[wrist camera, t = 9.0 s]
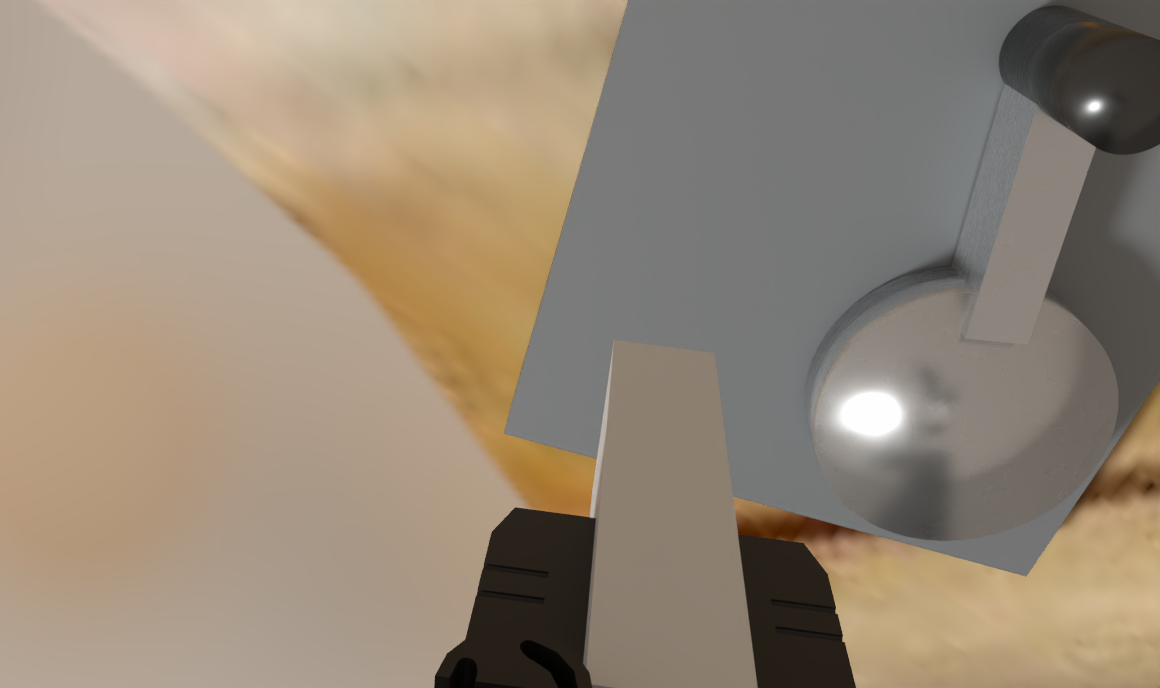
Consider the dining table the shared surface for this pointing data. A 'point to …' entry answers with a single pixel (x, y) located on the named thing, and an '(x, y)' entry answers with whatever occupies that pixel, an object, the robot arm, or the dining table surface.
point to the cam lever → (991, 312)
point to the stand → (810, 220)
